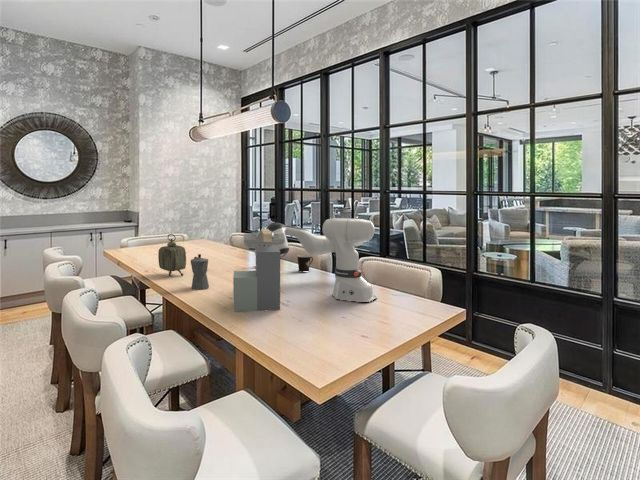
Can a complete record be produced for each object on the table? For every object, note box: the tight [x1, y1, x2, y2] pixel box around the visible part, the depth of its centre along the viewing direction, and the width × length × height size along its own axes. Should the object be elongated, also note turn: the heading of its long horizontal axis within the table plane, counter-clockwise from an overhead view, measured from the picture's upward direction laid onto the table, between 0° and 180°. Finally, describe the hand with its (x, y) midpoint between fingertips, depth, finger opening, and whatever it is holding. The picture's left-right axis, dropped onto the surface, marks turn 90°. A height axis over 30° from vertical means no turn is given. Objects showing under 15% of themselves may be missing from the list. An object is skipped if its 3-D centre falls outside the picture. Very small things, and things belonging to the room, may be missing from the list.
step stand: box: [232, 247, 281, 313], centre depth 179 cm, size 14×20×26 cm
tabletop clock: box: [157, 233, 187, 277], centre depth 236 cm, size 14×9×25 cm, turn 58°
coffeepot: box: [190, 253, 210, 291], centre depth 211 cm, size 15×9×18 cm, turn 34°
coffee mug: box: [297, 254, 314, 272], centre depth 256 cm, size 12×9×10 cm
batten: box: [260, 228, 272, 242], centre depth 184 cm, size 20×4×4 cm, turn 12°
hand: (265, 232), depth 190 cm, fingers closed on batten, 3 cm apart
